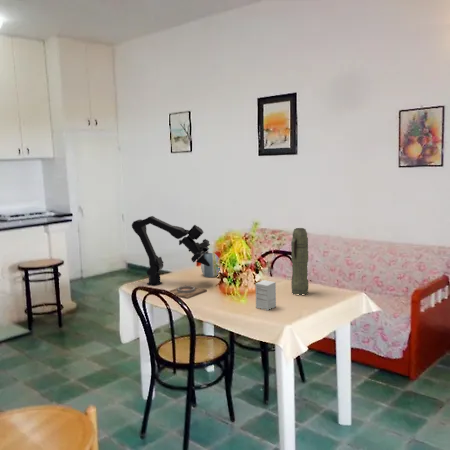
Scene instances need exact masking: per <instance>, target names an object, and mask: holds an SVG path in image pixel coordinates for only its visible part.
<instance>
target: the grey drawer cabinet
mask: <svg viewBox="0 0 450 450" xmlns="http://www.w3.org/2000/svg"><path fill="white" fill-rule="evenodd" d="M276 285H277V284H276V282H275V281H271V280H265V279H262V280H260V281H258V282H256V283H255V308H257V309H258V308H261V309H260V310H263V309H266V310H265V311H270V310H271V308H272V309H274V308H276V307H277V298H276V297H277V292H276V291H277V289H276V287H277V286H276ZM269 309H270V310H269Z"/></svg>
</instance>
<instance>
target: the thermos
mask: <svg viewBox="0 0 450 450" xmlns="http://www.w3.org/2000/svg"><path fill="white" fill-rule="evenodd" d="M290 243H291V244H290V245H291V246H290V247H291V252H290V253H291V254H290V255H291V263H292V268H291V269H292V279H291V294H292V293H293V294H292V295H294V294H299V295H302V294H307V293H308V294H309V280H308V262H309V245H308V244H309V239H308V233H307V229H306V228H303V227H297V228H296V227H295V228H294V229H293V232H292V239H291V242H290ZM308 294H307V295H308ZM299 295H298V296H299ZM302 296H303V295H302Z"/></svg>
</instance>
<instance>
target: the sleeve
mask: <svg viewBox="0 0 450 450" xmlns="http://www.w3.org/2000/svg"><path fill="white" fill-rule="evenodd" d="M204 257H205V259H206V260H207V261H208V263H209V264H210V266H206V265H204V274H203V276H204V277H205V278H213V277H212V276H213V254H212V253H204Z"/></svg>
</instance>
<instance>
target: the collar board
mask: <svg viewBox="0 0 450 450" xmlns="http://www.w3.org/2000/svg"><path fill="white" fill-rule="evenodd" d="M169 291H170V292H172V293H174V294H175V295H177V296H178V298H182V299H187V300H188V299H190V298H193V297H196V296H199V295H201V294H204V293H206V292H207V291H208V290H207V289H205V288H201V287H196V286H193V285H186V284H185V285H183V286H178V287H177V288H174V289H171V290H169ZM177 296H176V297H177Z"/></svg>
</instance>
